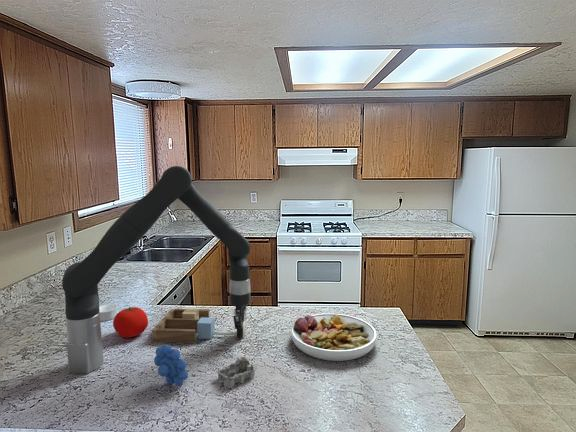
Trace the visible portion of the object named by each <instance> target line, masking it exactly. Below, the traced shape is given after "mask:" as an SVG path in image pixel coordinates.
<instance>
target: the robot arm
mask: <svg viewBox="0 0 576 432" xmlns="http://www.w3.org/2000/svg"><path fill="white" fill-rule="evenodd" d="M191 174H192V173H191V172H190V171H189V170H188V169H187V168H185V167H183V166H180V165H173V166H170V167H168V168H167V169H165V170H164V171H163V172H162V175H161V178H159V180H158V181H157V182H156V183H155V185H154V186H153V187H152V188H151V190H150V191H149V192H148V193H147V194H146V195H144V196H143V197H142V198H140V199H139V200H138V201H137V202H135V203H134V204H132V206H130V207H129V208H128V209H126V210H125V211H124V213H122V214H121V215H120V216H119V217H118V218H117V219H116V220H115V221H114V222H113V223H112V224H111V226H110V227H109V228H108V229H107V231H106V232H105V234H104V235H103V236H102V238H101V239H100V240H99V242H98V243H97V245H96V246H95V248H94V249H93V250H92V251H91V252H90V253H89V254H88V255H87V256H86V257H85V258H84V259H83V260H82V261H79V262H75V263H72V264H71V265H69V266H68V267H67V268H66V269H65V271H64V272H63V276H62V280H61V285H62V286H61V287H62V290H63V292H64V297H65V298H64V299H65V303H64V304H65V305H64V306H65V310H64V311H65V320H66V332H67V342H68V343H67V344H66V350H67V360H68V361H67V362H68V371H69V372H68V373H69V374H80V375H81V374H84V375H88V374H89V375H90V373H91V372H94V371H96V370H98V369H99V368H101V367H102V366H103V365H104V352H103V350H104V349H103V341H102V329H101V326H102V325H101V321H100V312H99V306H100V295H99V285H98V284H99V283H100V282H101V280H103V278H104V277H105V276H106V274H107V273H108V272H109V271H110V269H111V268H112V267H113V266H114V265H115V264H116V263H117V262H118V261H120V259H122V258H123V257H124V256H126V254H127V253H128V252H129V251H130V250H131V249H132V248H134V247H135V245H137V244H138V242H139V241H140V240H141V239H143V237H144V236H145V235H146V234H147V233H148V232H149V230H150V229H151V228H152V227H153V225H154V224H155V223H156V222H157V221H158V220H159V218H160V217H161V216H162V215H163V213H164V212H165V211H166V210H167V209H168V208H169V207H170V206H171V205H172V204H173V203H174V202H176V201H177V199H178V201H180V202H182V203H183V204H184V205H185V206H186V207H187V208H188V209H189V210H190V211H191V212H193V214H194V215H195V216H196V217H197V218H198V219H199V220H200V221H201V223H202V224H203V225H204V226H205V227H206V229H208V230H209V232H211V234H213V236H215V237H216V238H217V239H218V240H219V241H220V242H221V243H222V244H223V245H224V246H225V248H227V250H228V260H229V304H230V305H231V306H234V307H235V308H234V309H233V314H234V316H233V323H234V329H236V332H237V335H236V338H237V339H244V338H243V322H244V321H245V323H246V320H247V310H248V309H247V307H248V305H249V304H251V300H252V299H251V298H252V297H251V281H250V265H249V262H248V255H249V254H250V253H251V244H250V241H249V240H248V239H247V238H245V237H244V235H243V234H242V233H241V232H239V230H237V229H236V228H235V227H234V226H233V224H232V223H231V222H230V221H229V219H227V217H226V216H225V215H224V214H223V213H222V212H221V211H220V210H219V209H218V208H217V207H215V206H214V205H213V204H212V203H211V202H209V200H208V199H206V198H205V197H204V196H203V195H202V194H201V193H200V191H198V189H196V187H195V185H194V184H193V183H192V181H193V180H192V179H193V178H192V175H191ZM154 226H155V225H154Z"/></svg>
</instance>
